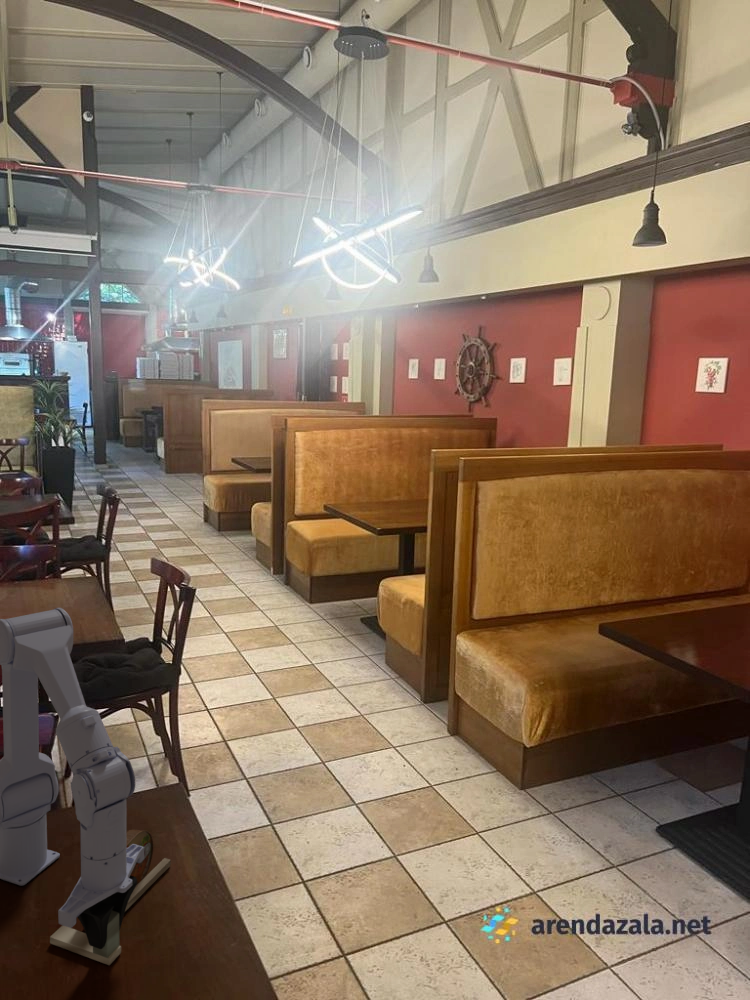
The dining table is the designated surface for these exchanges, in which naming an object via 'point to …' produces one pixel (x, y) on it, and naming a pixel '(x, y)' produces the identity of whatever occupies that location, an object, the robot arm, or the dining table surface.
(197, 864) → the dining table surface
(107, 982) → the dining table surface
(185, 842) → the dining table surface
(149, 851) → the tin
